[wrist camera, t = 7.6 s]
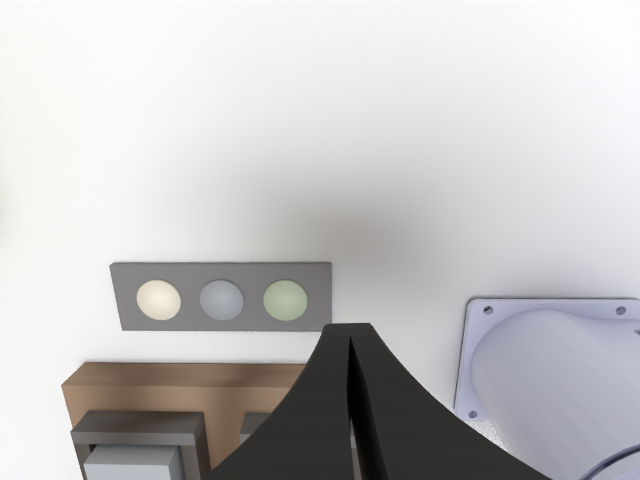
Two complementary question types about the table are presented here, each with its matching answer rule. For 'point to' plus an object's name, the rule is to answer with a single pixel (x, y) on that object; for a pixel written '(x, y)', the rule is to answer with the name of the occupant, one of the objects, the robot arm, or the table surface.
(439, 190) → the table surface
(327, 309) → the card
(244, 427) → the keypad
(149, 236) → the table surface
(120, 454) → the key slate
